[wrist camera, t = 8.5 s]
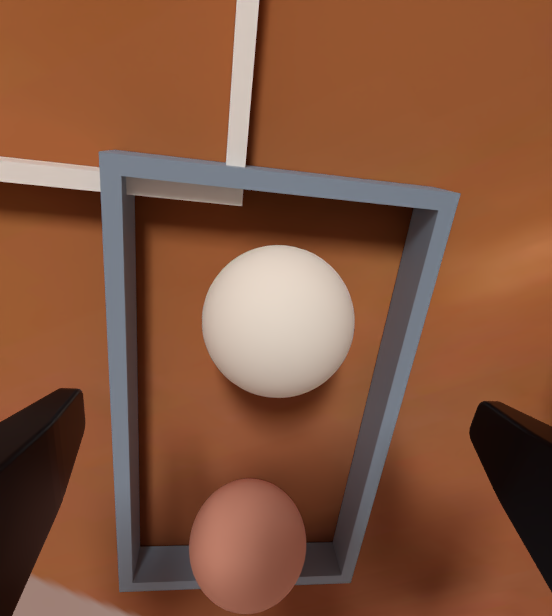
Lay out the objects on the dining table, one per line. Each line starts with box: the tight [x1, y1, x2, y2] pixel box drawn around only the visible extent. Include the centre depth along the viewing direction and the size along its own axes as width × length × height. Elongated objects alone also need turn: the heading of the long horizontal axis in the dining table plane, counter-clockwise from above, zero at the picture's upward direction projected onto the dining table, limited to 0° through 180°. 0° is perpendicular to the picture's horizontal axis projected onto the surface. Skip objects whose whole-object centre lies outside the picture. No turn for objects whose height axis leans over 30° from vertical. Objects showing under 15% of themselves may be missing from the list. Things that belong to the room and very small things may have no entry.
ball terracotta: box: [189, 478, 306, 614], centre depth 17 cm, size 5×5×5 cm
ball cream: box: [202, 245, 354, 398], centre depth 13 cm, size 5×5×5 cm
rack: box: [99, 150, 460, 592], centre depth 17 cm, size 11×19×2 cm, turn 174°
